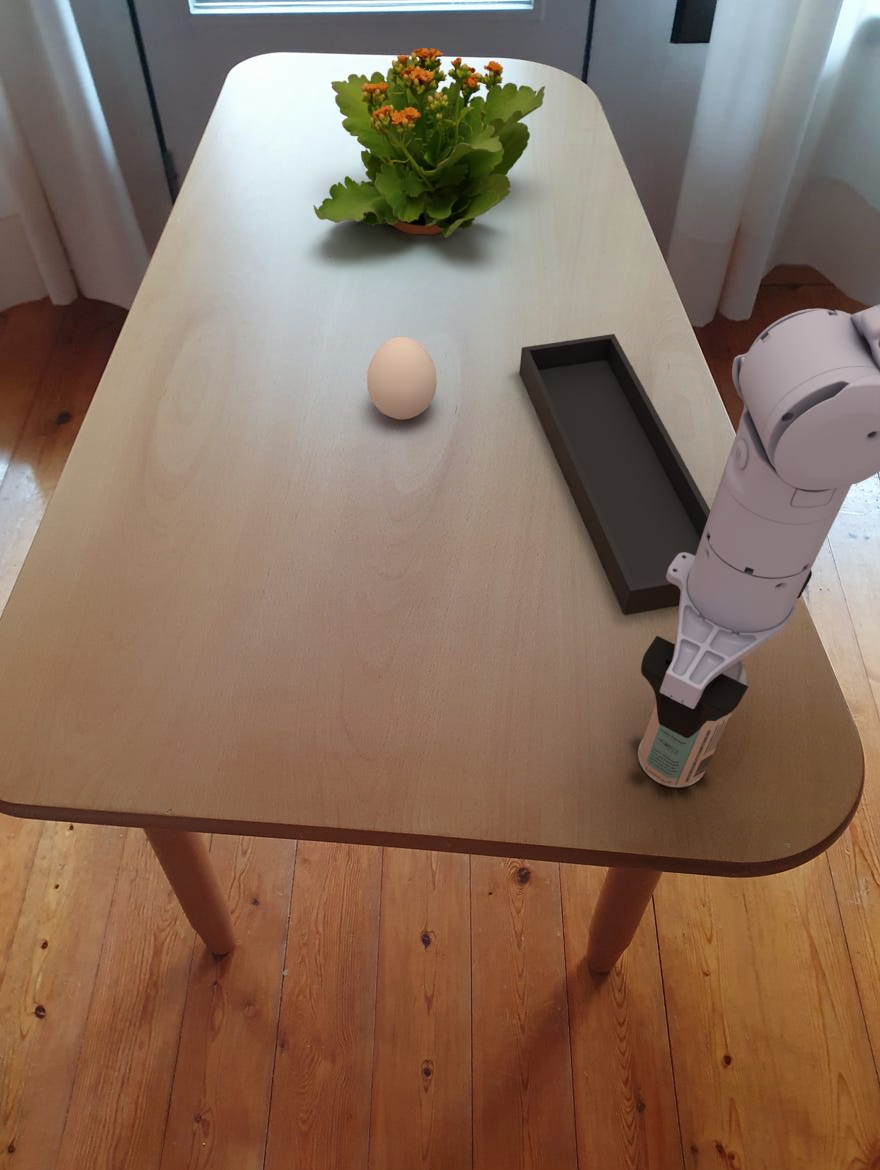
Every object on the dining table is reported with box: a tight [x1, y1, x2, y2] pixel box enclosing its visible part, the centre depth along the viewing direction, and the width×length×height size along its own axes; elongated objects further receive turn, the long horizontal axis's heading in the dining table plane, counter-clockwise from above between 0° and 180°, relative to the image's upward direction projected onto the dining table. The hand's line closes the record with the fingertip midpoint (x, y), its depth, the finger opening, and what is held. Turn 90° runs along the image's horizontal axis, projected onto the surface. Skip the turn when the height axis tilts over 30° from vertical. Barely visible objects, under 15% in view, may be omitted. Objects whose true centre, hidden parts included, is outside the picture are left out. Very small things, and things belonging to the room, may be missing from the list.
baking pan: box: [518, 333, 711, 616], centre depth 85 cm, size 31×9×3 cm, turn 11°
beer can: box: [637, 659, 747, 788], centre depth 64 cm, size 5×5×12 cm
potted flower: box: [312, 47, 546, 239], centre depth 106 cm, size 25×24×18 cm
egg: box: [366, 336, 438, 421], centre depth 89 cm, size 6×6×8 cm
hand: (701, 683), depth 61 cm, fingers open, 7 cm apart
